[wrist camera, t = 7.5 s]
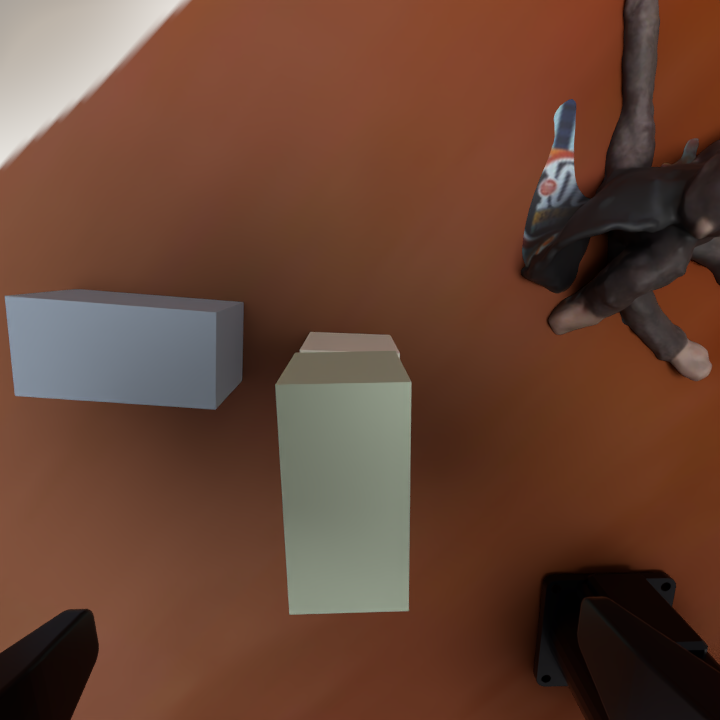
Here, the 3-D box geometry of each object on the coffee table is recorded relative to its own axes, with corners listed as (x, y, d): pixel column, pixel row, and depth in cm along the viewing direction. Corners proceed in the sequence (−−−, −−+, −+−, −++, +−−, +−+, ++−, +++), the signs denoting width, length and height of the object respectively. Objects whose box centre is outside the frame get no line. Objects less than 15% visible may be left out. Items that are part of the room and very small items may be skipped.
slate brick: (244, 301, 18) (216, 312, 15) (242, 379, 19) (215, 409, 15) (78, 288, 18) (4, 295, 14) (84, 368, 19) (15, 395, 15)
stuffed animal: (629, 431, 19) (597, 251, 11) (500, 312, 26) (418, 145, 17) (879, 262, 17) (1076, -110, 9) (670, 182, 24) (671, -71, 16)
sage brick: (394, 528, 16) (408, 610, 13) (304, 530, 16) (289, 614, 12) (395, 350, 15) (411, 382, 11) (295, 352, 15) (275, 384, 11)
